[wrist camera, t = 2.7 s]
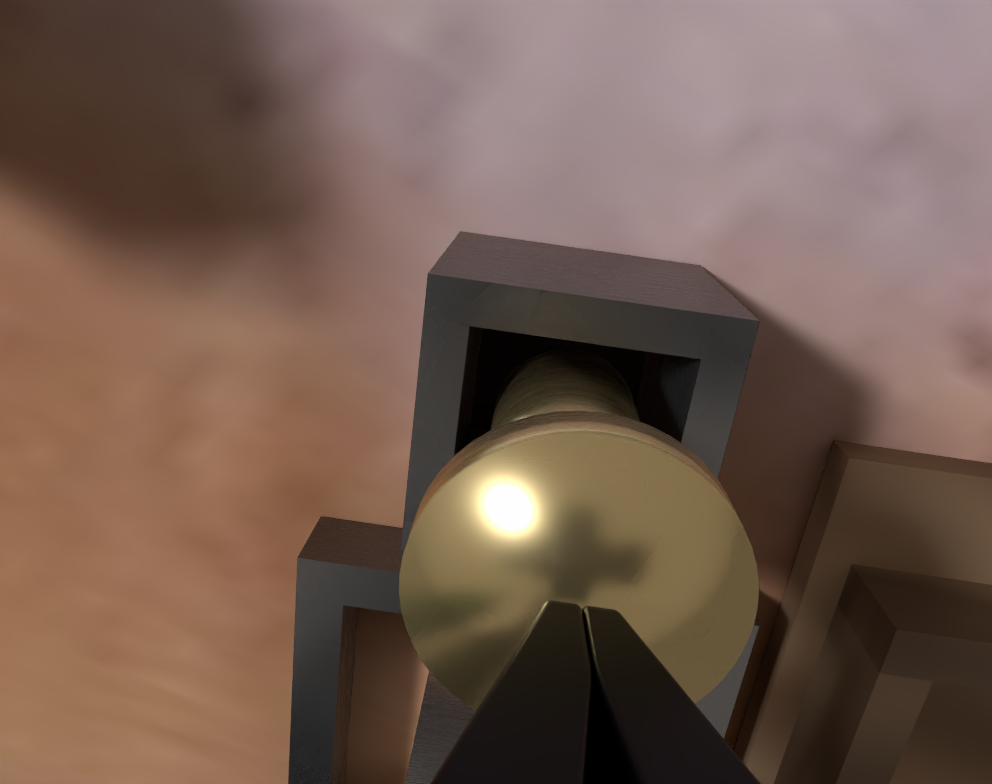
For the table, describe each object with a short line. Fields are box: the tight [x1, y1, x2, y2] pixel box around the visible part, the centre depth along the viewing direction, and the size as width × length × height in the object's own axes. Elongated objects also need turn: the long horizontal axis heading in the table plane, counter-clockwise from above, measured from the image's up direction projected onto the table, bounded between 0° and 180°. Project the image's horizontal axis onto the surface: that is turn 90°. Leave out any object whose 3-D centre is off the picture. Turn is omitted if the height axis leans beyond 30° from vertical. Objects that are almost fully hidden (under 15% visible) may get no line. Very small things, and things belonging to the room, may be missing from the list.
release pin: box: [399, 349, 759, 711], centre depth 12 cm, size 4×4×6 cm
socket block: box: [288, 231, 760, 784], centre depth 18 cm, size 20×11×5 cm, turn 172°
